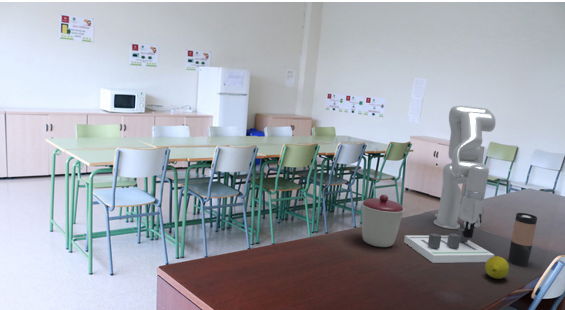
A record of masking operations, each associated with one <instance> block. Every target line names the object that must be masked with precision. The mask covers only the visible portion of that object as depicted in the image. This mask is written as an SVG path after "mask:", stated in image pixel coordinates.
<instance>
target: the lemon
mask: <svg viewBox="0 0 565 310" xmlns="http://www.w3.org/2000/svg"><path fill="white" fill-rule="evenodd" d="M484 265H485V267H484V270H485V272H486V275H488V276H489V277H491V278H492V279H497V280H500V279H503V278H505V277H506V276H507V275H508V274H509V270H510V265H509V263H508V261H507V259H505V258H503V257H501V256H497V255H496V256H494V257H491V258H490V259H488V260H487V262H485V264H484Z"/></svg>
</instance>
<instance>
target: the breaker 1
mask: <svg viewBox="0 0 565 310" xmlns="http://www.w3.org/2000/svg"><path fill="white" fill-rule="evenodd" d="M428 236H429V240H428V246H429V247H431V248H440V242H441V236H442V235H440V234H438V233H429V234H428Z"/></svg>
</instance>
